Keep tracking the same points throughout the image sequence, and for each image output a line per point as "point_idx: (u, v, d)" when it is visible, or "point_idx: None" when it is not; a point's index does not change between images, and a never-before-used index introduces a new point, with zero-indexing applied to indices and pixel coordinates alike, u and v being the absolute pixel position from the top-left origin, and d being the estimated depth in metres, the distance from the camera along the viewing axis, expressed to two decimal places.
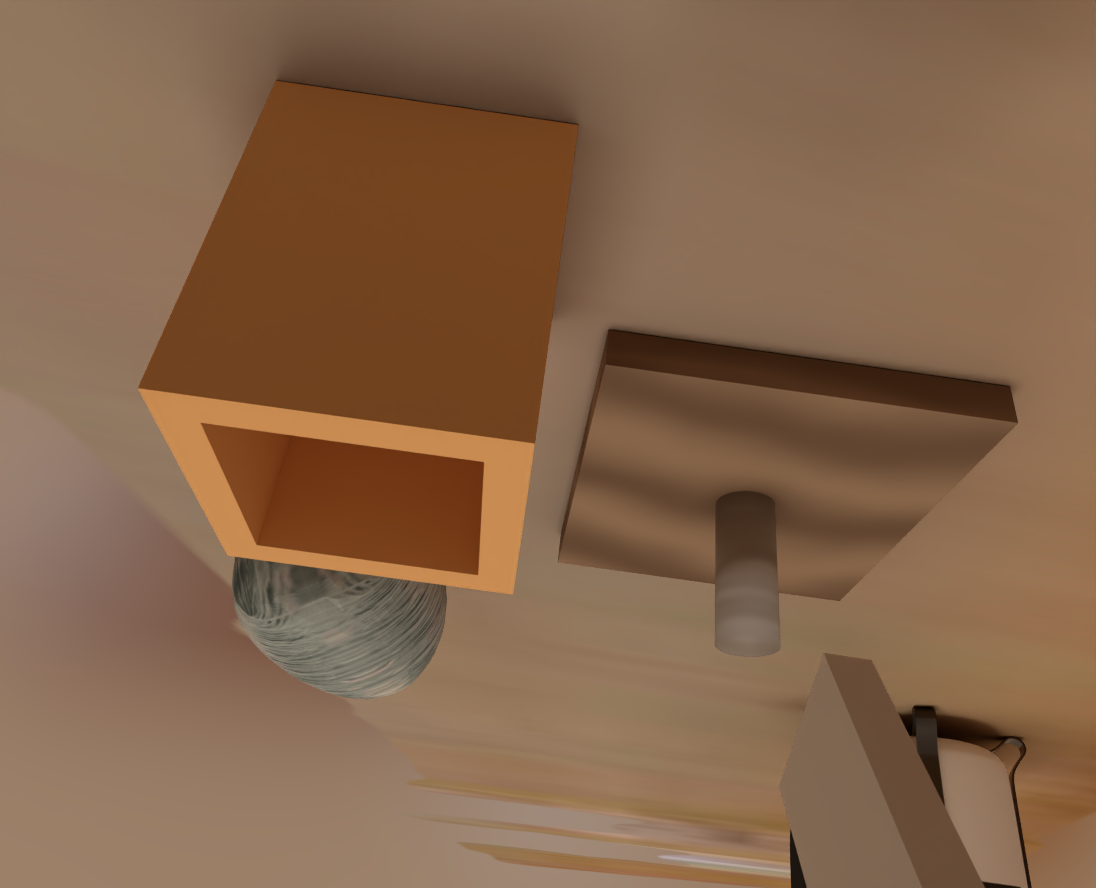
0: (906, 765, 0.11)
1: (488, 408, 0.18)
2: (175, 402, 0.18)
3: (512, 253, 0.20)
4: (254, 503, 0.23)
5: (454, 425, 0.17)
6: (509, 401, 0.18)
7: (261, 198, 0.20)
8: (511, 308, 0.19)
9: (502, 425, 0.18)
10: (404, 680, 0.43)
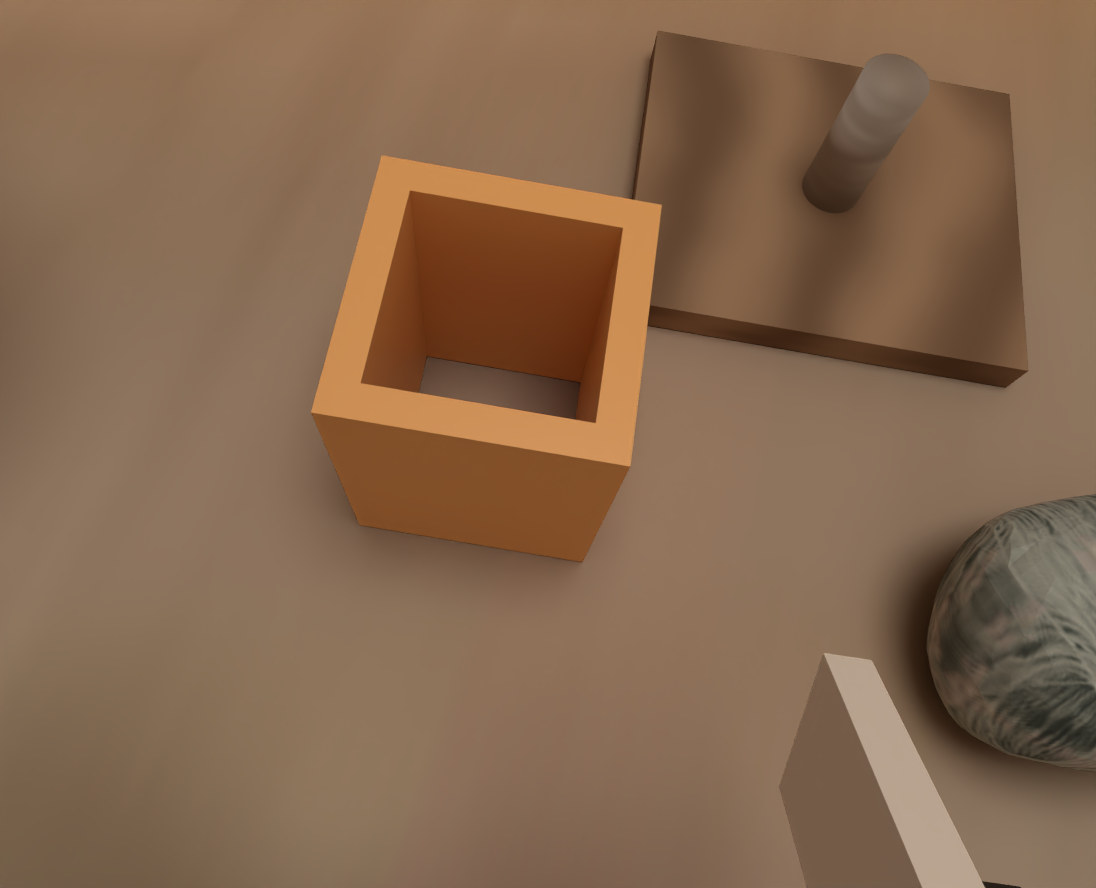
0: (906, 765, 0.11)
1: None
2: (331, 390, 0.22)
3: None
4: None
5: None
6: None
7: None
8: None
9: None
10: None
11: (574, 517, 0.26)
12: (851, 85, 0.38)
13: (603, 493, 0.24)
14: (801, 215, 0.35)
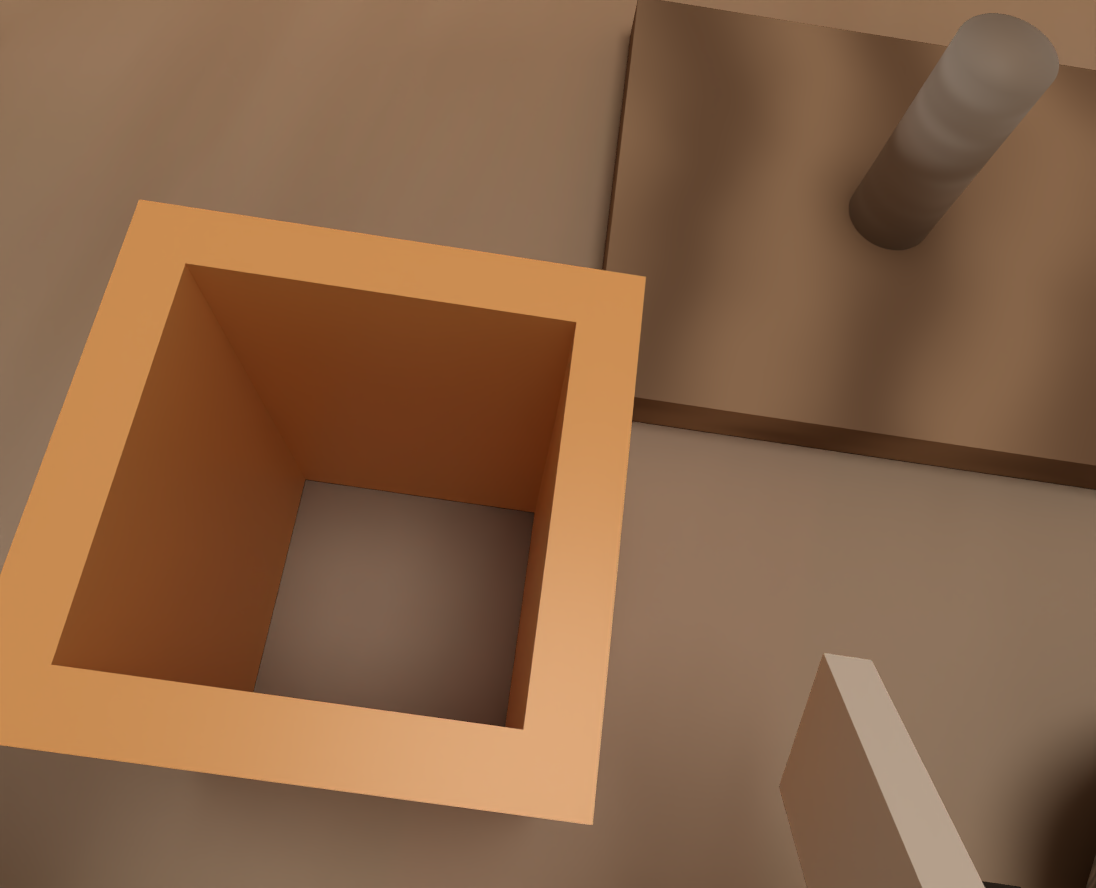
0: (906, 765, 0.11)
1: None
2: None
3: None
4: None
5: None
6: None
7: None
8: None
9: None
10: None
11: None
12: (909, 67, 0.27)
13: None
14: (850, 254, 0.24)
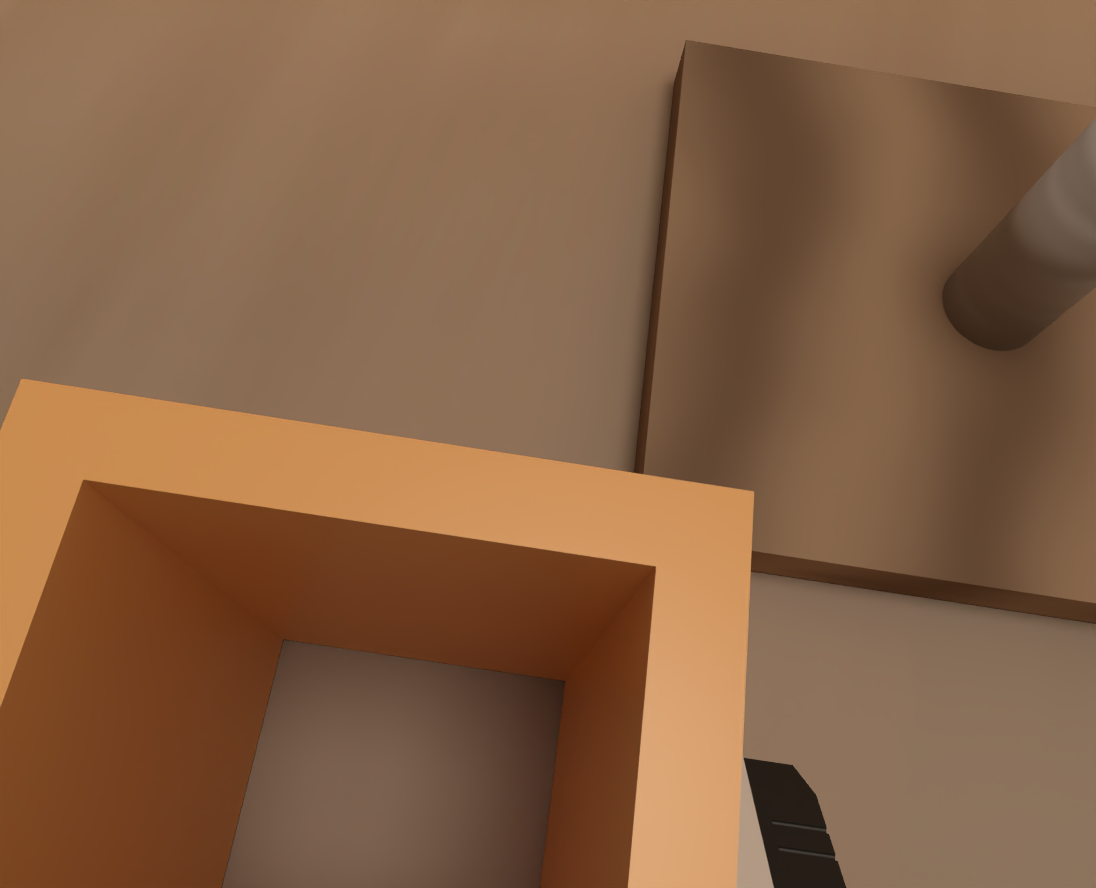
0: None
1: None
2: None
3: None
4: None
5: None
6: None
7: None
8: None
9: None
10: None
11: None
12: (1006, 125, 0.23)
13: None
14: (946, 356, 0.20)
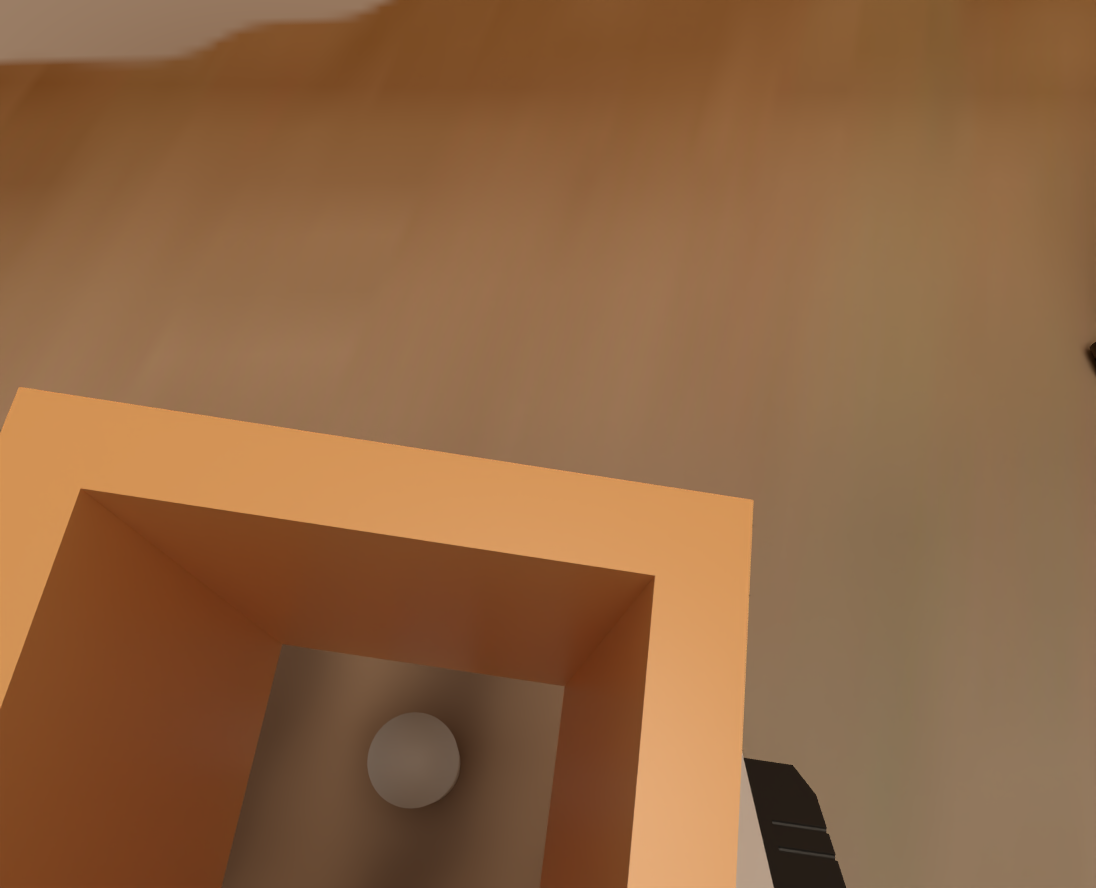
0: None
1: None
2: None
3: None
4: None
5: None
6: None
7: None
8: None
9: None
10: None
11: None
12: None
13: None
14: (379, 812, 0.28)
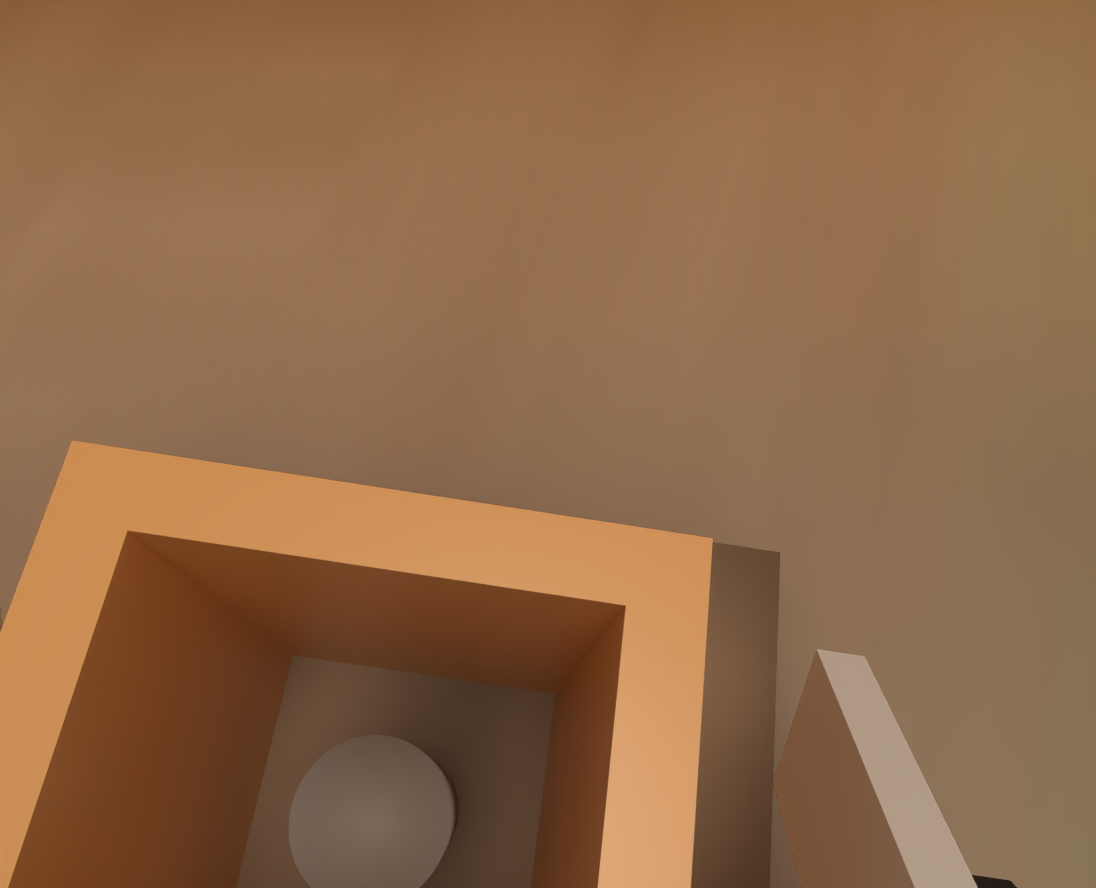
0: (898, 760, 0.11)
1: None
2: None
3: None
4: None
5: (30, 575, 0.10)
6: None
7: None
8: None
9: None
10: None
11: None
12: None
13: None
14: None
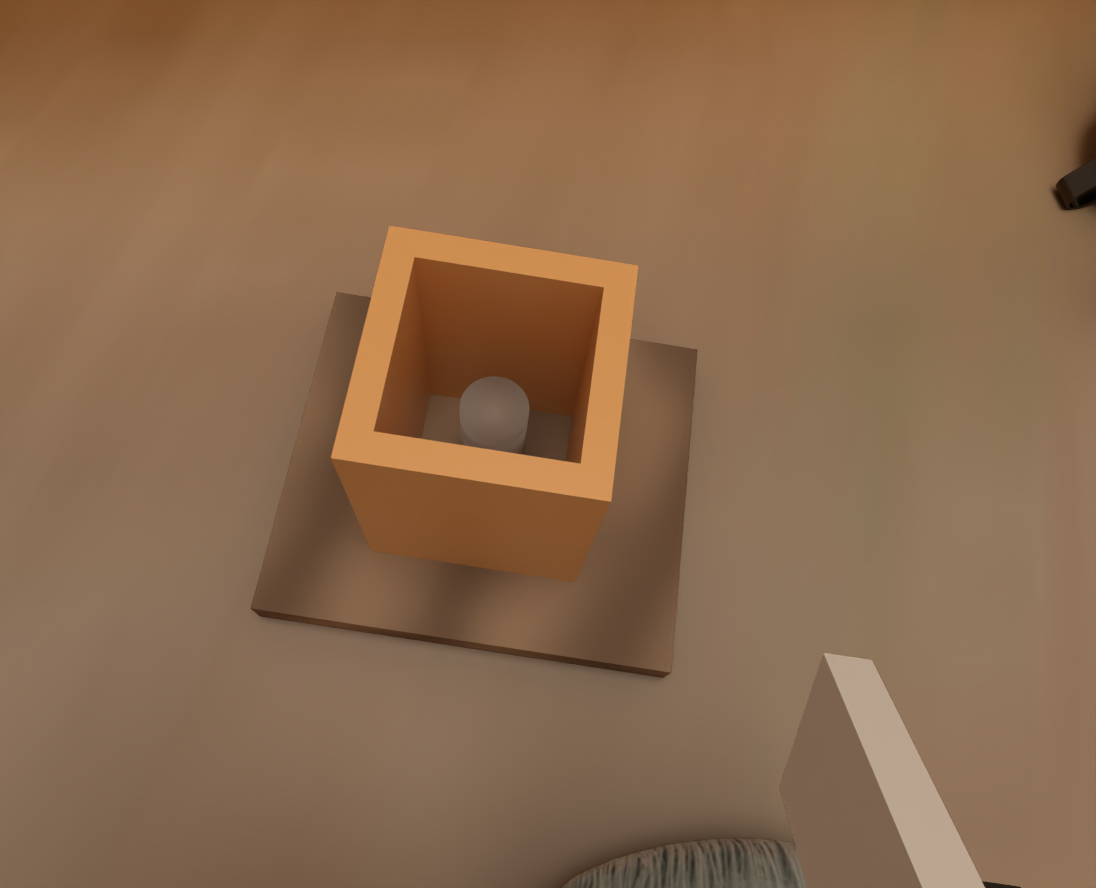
0: (906, 765, 0.11)
1: None
2: (348, 438, 0.25)
3: None
4: None
5: None
6: None
7: None
8: None
9: None
10: None
11: (564, 543, 0.29)
12: None
13: (589, 523, 0.27)
14: None
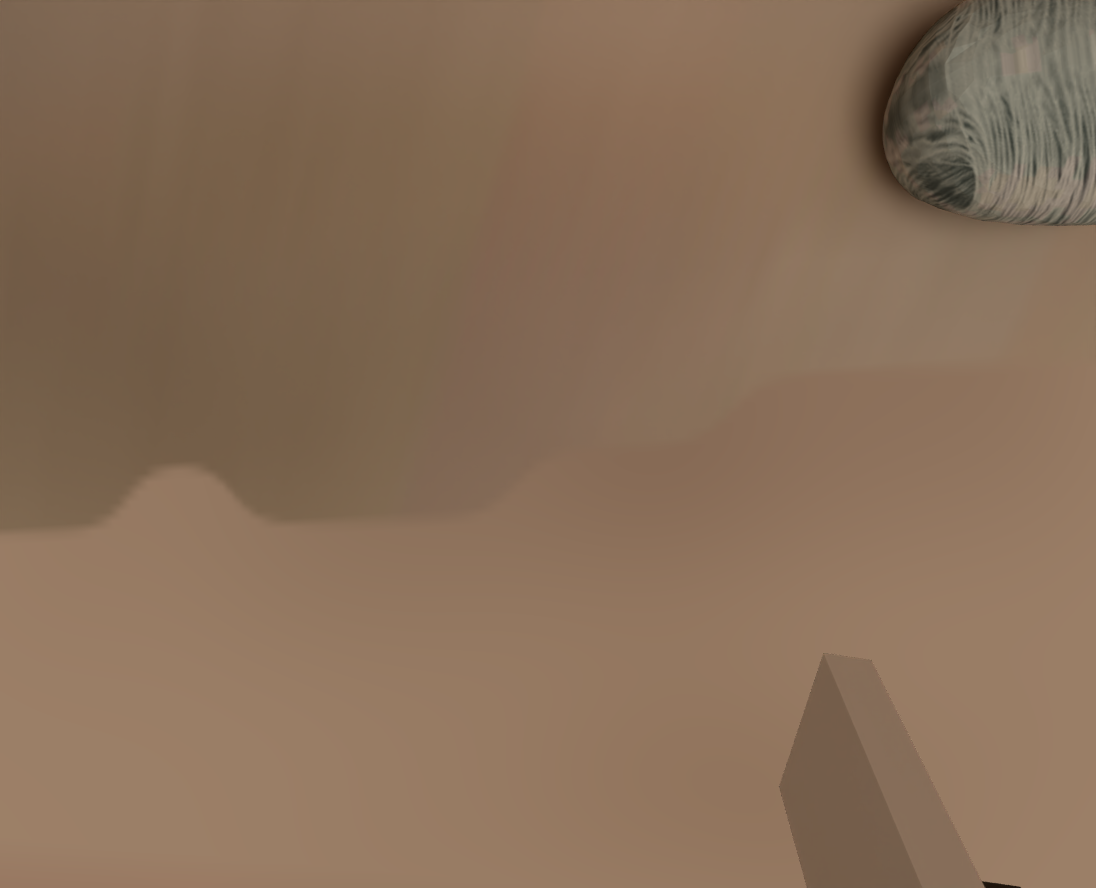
0: (906, 765, 0.11)
1: None
2: None
3: None
4: None
5: None
6: None
7: None
8: None
9: None
10: None
11: None
12: None
13: None
14: None
